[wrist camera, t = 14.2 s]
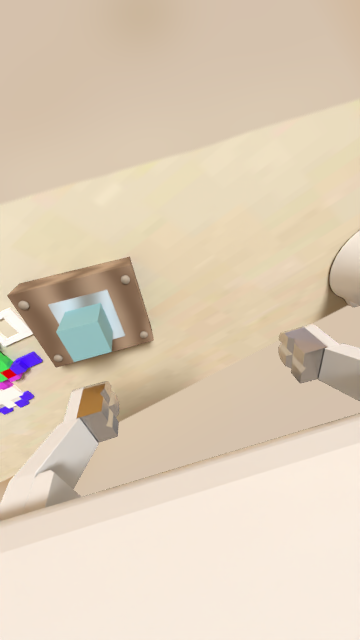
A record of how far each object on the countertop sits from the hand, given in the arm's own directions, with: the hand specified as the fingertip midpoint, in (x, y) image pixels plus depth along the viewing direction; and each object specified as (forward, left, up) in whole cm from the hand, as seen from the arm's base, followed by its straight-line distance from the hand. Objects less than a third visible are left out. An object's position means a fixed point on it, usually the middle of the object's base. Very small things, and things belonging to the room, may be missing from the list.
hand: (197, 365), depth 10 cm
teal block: (+11, +8, -22) cm, 26 cm away
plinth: (+11, +8, -27) cm, 30 cm away
